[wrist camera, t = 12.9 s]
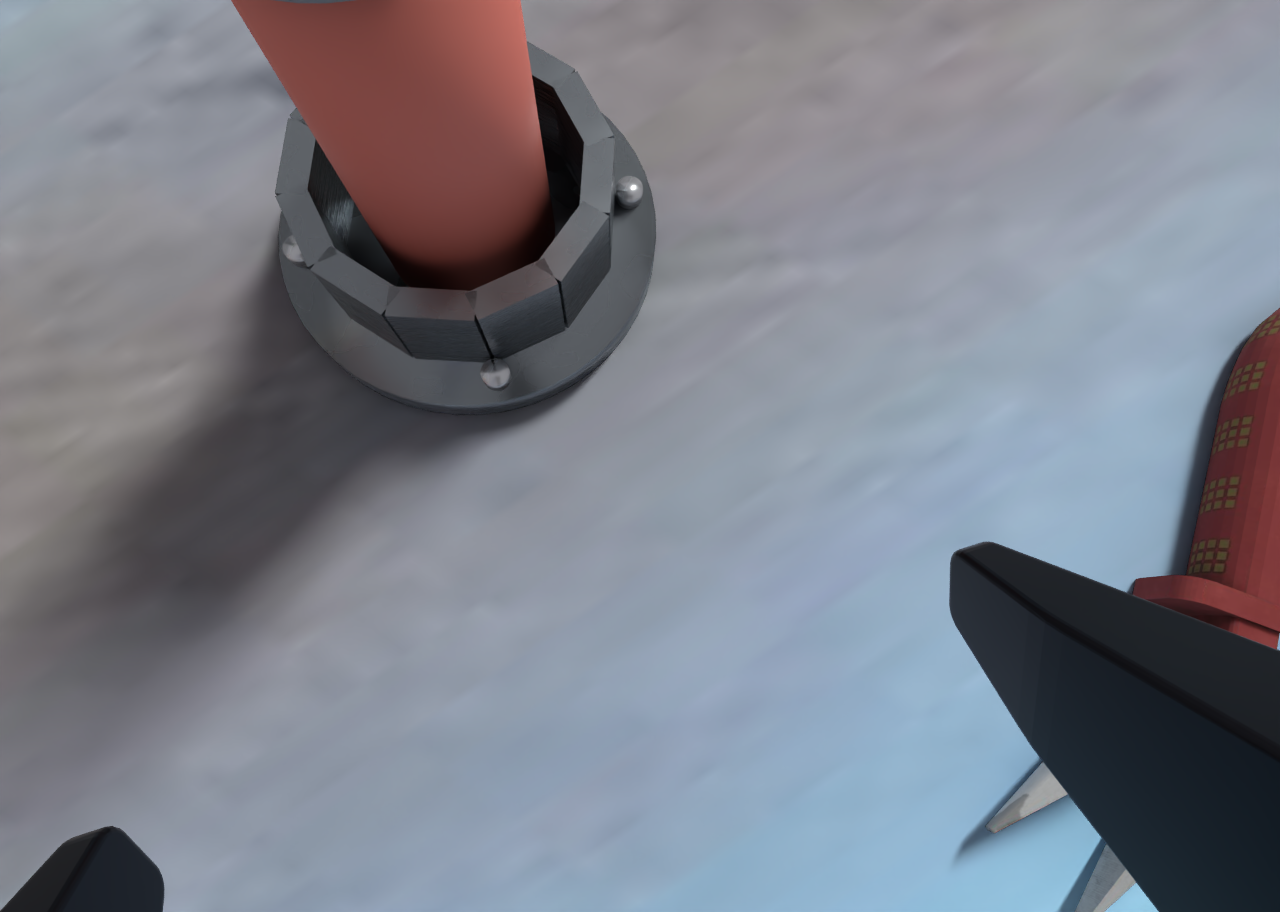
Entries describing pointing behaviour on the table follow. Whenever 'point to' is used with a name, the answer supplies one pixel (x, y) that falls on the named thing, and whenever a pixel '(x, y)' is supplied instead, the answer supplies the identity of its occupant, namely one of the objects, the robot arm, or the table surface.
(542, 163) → the orange capped cylinder
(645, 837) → the table surface
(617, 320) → the pipe socket
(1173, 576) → the pliers
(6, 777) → the table surface
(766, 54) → the table surface
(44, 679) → the table surface
